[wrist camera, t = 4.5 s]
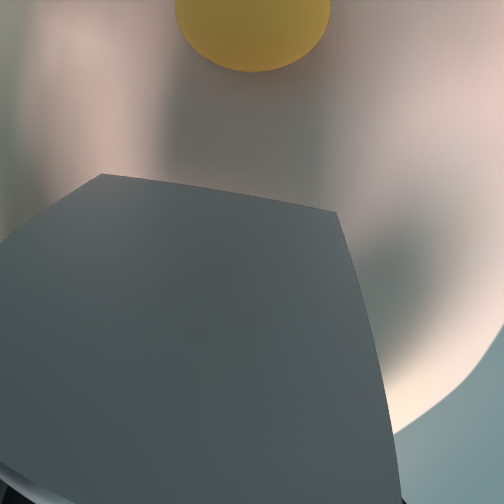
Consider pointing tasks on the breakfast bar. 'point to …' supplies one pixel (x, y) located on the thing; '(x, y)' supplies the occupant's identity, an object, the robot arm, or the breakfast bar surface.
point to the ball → (252, 30)
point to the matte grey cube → (188, 353)
